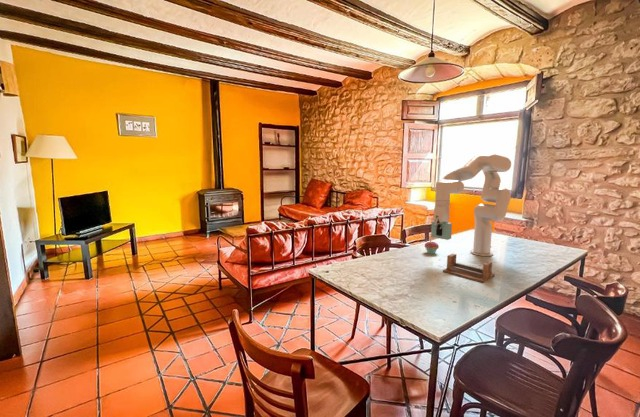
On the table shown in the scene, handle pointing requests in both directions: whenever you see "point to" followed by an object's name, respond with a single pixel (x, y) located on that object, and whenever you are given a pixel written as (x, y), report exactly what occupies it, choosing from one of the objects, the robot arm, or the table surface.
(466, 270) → the brown wooden holder
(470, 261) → the table surface
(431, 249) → the cupcake
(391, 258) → the table surface
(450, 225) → the door panel
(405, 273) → the table surface
